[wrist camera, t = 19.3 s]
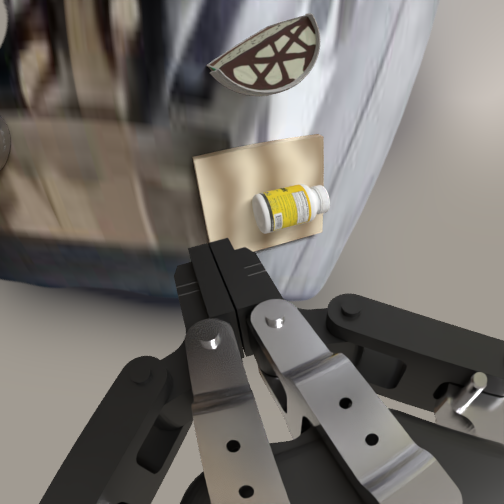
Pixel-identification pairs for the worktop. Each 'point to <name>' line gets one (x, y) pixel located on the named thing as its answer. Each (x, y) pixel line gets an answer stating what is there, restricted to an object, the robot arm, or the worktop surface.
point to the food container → (270, 58)
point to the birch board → (256, 187)
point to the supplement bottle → (289, 206)
